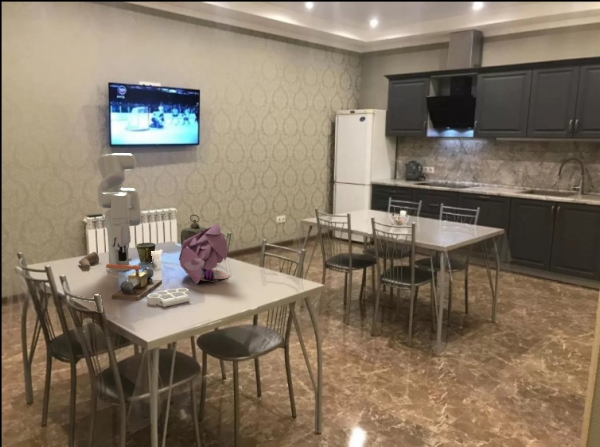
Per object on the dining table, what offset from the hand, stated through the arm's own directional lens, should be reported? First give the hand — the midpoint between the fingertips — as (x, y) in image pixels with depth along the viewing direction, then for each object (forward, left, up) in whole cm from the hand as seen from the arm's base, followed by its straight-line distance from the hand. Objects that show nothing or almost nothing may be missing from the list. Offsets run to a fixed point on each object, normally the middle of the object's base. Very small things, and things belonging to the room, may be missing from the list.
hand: (122, 260), depth 225 cm
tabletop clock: (-52, +16, -12) cm, 56 cm away
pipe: (-28, -33, -12) cm, 45 cm away
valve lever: (+6, +3, -2) cm, 7 cm away
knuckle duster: (+16, +29, -12) cm, 35 cm away
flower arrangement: (-20, +34, -12) cm, 41 cm away
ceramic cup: (-38, -6, -12) cm, 40 cm away
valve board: (+6, +10, -12) cm, 16 cm away
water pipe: (+6, +10, -10) cm, 15 cm away
